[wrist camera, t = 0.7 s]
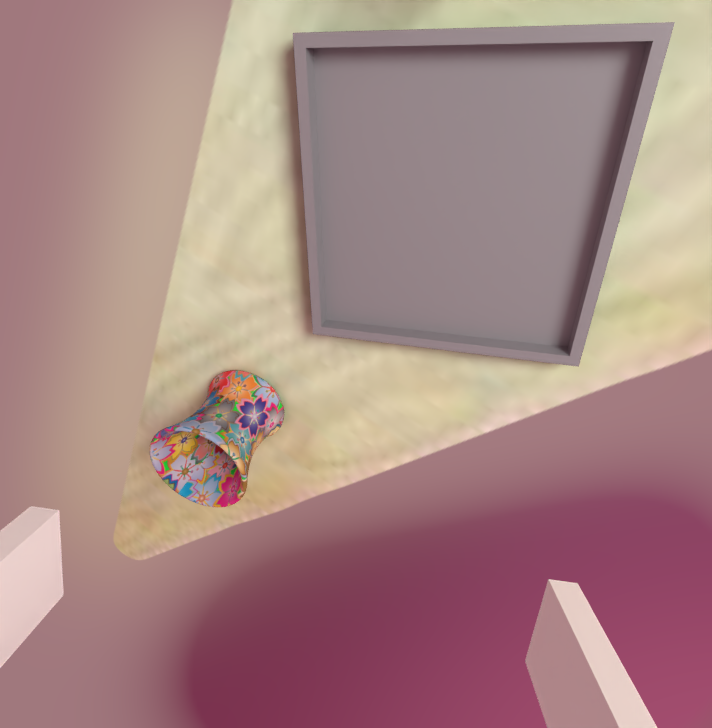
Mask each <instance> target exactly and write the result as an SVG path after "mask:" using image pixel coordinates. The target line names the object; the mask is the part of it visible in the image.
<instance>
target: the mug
mask: <svg viewBox="0 0 712 728" xmlns="http://www.w3.org/2000/svg"><path fill="white" fill-rule="evenodd" d="M283 420H284V408H283V404H282V402H281V399H280V397H279V395H278V394H277V392H276V391H275V390H274V389H273V388H272V387H271V386H270V385H269V384H268V383H267V382H266V381H264V380H263V379H262V378H260V377H258V376H256V375H254V374H251V373H248V372H245V371H236V370H234V371H227V372H224V373H221V374H219V375H218V376H216V377H215V378H214V379H213V381H212V382H211V384H210V386H209V390H208V396H207V399H206V400H205V402H204V404H203V405H202V406H201V407H200V408H199V410H198V411H196V412H195V413H194V414H193V415H192V416H190V417H189V418H187V419H186V420H184V421H182V422H180V423H178V424H176V425H173V426H170V427H167V428H165V429H163V430H161V431H159V432H158V433H157V434H156V435H155V436H154V438H153V439H152V442H151V444H150V457H151V461H152V463H153V466H154V468H155V470H156V471H157V473H158V474H159V476H160V477H161V478H162V480H163V481H164V482H165V483H166V484H167V485H168V486H169V487H170V488H172V489H173V490H174V491H175V492H177V493H178V494H180V495H181V496H183V497H185V498H186V499H188V500H190V501H193V502H195V503H198V504H201V505H205V506H210V507H226V506H230V505H233V504H235V503H236V502H238V501H239V500H240V499H241V498H242V497H243V495H244V494H245V491H246V488H247V477H248V470H249V465H250V462H251V459H252V456H253V454H254V452H255V450H256V448H257V447H258V445H259V444H260V443H261V442H262V441H263V440H264V439H265V438H266V437H268V436H271V435H273V434H274V433H275V432H277V431H278V430H279V428H280V427H281V425H282V423H283Z"/></svg>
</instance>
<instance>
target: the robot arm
mask: <svg viewBox="0 0 712 728" xmlns="http://www.w3.org/2000/svg"><path fill="white" fill-rule="evenodd" d="M61 557H62V556H61V537H60V519H59V510H54V509H47V508H40V507H33V506H31V507H29V508H28V509H27V510H26V511H24V512H23V513H22V514H21V515H19V516H18V517H17V518H16V519H14V520H13V521H12V522H11V523H10V524H8V525H7V526H6V527H4V528H3V529H2V530H0V668H1V666H2V665H3V664H4V663H5V662H6V661H7V660H8V658H9V657H10V656H11V655H12V654H13V653H14V651H15V650H16V649H17V648H18V647H19V646H20V644H21V643H22V642H23V641H24V640H25V639H26V638H27V636H28V635H29V634H30V633H31V632H32V631H33V629H34V628H35V627H36V626H37V625H38V624H39V622H40V621H41V620H42V619H43V618H44V617H45V616H46V614H47V613H48V612H49V611H50V609H52V608H53V606H54V605H55V604H56V603H57V602H58V601H59V599H60V598H61V597H62V596H63V576H62V558H61ZM525 662H526V665H527V668H528V671H529V674H530V677H531V680H532V683H533V685H534V689H535V692H536V695H537V698H538V701H539V704H540V707H541V710H542V713H543V716H544V719H545V722H546V725H547V728H657V726H656V725H655V723H654V721H653V719H652V717H651V715H650V714H649V712H648V710H647V708H646V707H645V705H644V703H643V701H642V699H641V698H640V696H639V694H638V692H637V690H636V688H635V687H634V685H633V683H632V681H631V679H630V678H629V676H628V674H627V672H626V670H625V668H624V667H623V665H622V663H621V661H620V659H619V658H618V656H617V654H616V652H615V650H614V649H613V647H612V645H611V643H610V641H609V639H608V638H607V636H606V634H605V633H604V630H603V629H602V627H601V625H600V623H599V621H598V620H597V618H596V616H595V614H594V612H593V611H592V609H591V607H590V605H589V603H588V601H587V600H586V598H585V596H584V594H583V593H582V591H581V589H580V587H579V585H578V584H577V583H571V582H564V581H558V580H550V579H548V583H547V587H546V590H545V593H544V597H543V600H542V604H541V607H540V611H539V615H538V618H537V622H536V625H535V628H534V632H533V635H532V639H531V642H530V646H529V649H528V653H527V656H526V660H525Z"/></svg>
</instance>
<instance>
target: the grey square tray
mask: <svg viewBox="0 0 712 728" xmlns="http://www.w3.org/2000/svg"><path fill="white" fill-rule="evenodd" d="M674 23H675V22H669V23H633V24H597V25H561V26H525V27H489V28H453V29H417V30H381V31H345V32H309V33H293V42H294V57H295V72H296V87H297V102H298V117H299V132H300V147H301V162H302V177H303V192H304V207H305V222H306V237H307V252H308V267H309V282H310V297H311V312H312V327H313V334H317V335H325V336H333V337H341V338H350V339H358V340H366V341H374V342H382V343H391V344H399V345H407V346H415V347H423V348H432V349H440V350H448V351H456V352H464V353H473V354H481V355H489V356H497V357H505V358H514V359H522V360H530V361H538V362H546V363H555V364H563V365H571V366H579V363H580V359H581V356H582V352H583V349H584V345H585V342H586V338H587V334H588V331H589V327H590V324H591V320H592V316H593V313H594V309H595V306H596V302H597V299H598V295H599V291H600V288H601V284H602V281H603V277H604V273H605V270H606V266H607V263H608V259H609V256H610V252H611V248H612V245H613V241H614V238H615V234H616V231H617V227H618V223H619V220H620V216H621V213H622V209H623V205H624V202H625V198H626V195H627V191H628V188H629V184H630V180H631V177H632V173H633V170H634V166H635V162H636V159H637V155H638V152H639V148H640V145H641V141H642V137H643V134H644V130H645V127H646V123H647V119H648V116H649V112H650V109H651V105H652V102H653V98H654V94H655V91H656V87H657V84H658V80H659V76H660V73H661V69H662V66H663V62H664V59H665V55H666V51H667V48H668V44H669V41H670V37H671V33H672V30H673V26H674Z"/></svg>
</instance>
